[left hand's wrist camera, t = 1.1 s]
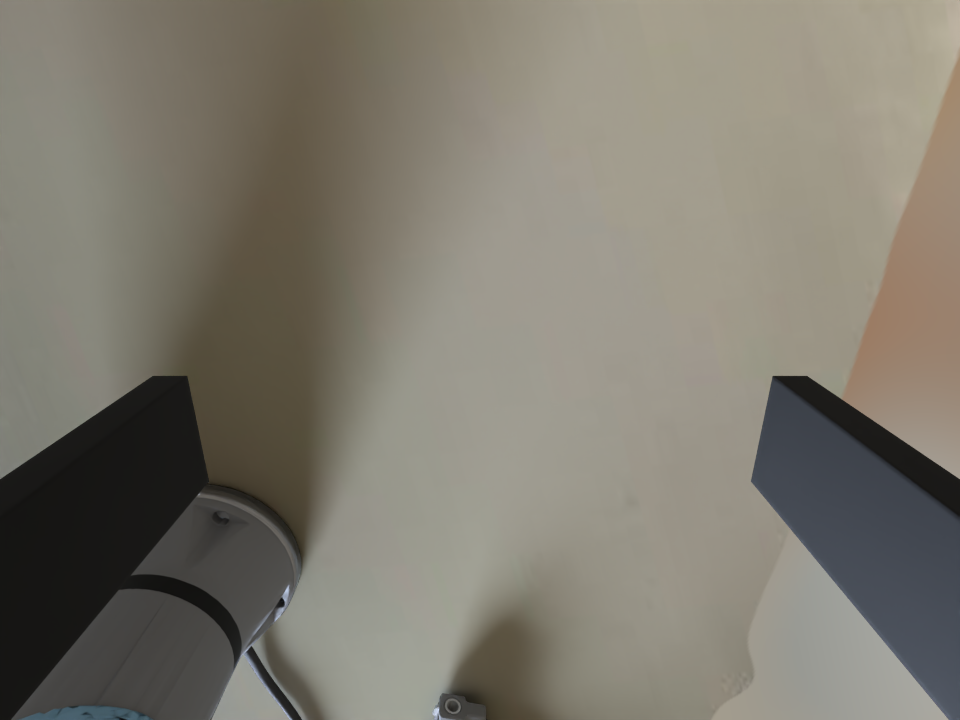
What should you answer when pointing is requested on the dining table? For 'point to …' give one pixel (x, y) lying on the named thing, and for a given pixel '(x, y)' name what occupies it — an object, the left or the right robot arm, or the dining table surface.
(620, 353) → the dining table surface
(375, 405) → the dining table surface
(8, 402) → the dining table surface
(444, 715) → the pistol
